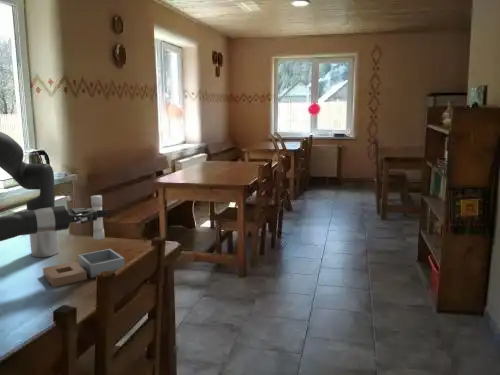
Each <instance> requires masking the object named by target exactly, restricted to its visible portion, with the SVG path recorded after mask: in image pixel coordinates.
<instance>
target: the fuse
mask: <svg viewBox="0 0 500 375" xmlns="http://www.w3.org/2000/svg"><path fill="white" fill-rule="evenodd" d="M90 204H91V205H90V206H91V208H92V211H94V210H96V211H97V210H102V208H103V196H102V194H97V195H95V194H94V195H91V196H90ZM103 219H104V217H99V218H97V220H94V221H92V222H93V224H92V226H93V230H92V232H93V236H92V237H93V240H97V241H99V240H104V239H105V236H106V235H105V228H104V220H103Z"/></svg>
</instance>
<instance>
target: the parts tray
mask: <svg viewBox="0 0 500 375" xmlns="http://www.w3.org/2000/svg"><path fill="white" fill-rule="evenodd" d="M77 257H78V258H77V260H78V264H79V265H80V266H81V267H82V268H83V269H84V270H85V271H86V272H87V276H89V277H90V278H96V277H97V276H96V275H98V274H99V273H101V272H103V271H116V270H117V269H119V268H120V267H122V266H124V265H125V264H126V263H125V261H126V260H125V257H123V256H122V255H121V254H119V253H118V252H116V251H114V250H113V249H112V248H106V249H102V250H101V249H100V250H96V251H92V252H87V253H83V254H82V253H81V254H78V255H77ZM125 266H126V265H125Z"/></svg>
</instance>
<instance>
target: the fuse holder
mask: <svg viewBox="0 0 500 375" xmlns="http://www.w3.org/2000/svg"><path fill="white" fill-rule="evenodd" d="M42 274H43V277H44V278H45V279H46V280H47V282H48V283H49V284H50V285H51V286H52V287H53V288H55V287H60V286H63V285H68V284H73V283H76V282H81V281H86V280H88V274H87V272H86V271H85V270H84V269H83V268H82V267H81V266H80V265H79V263H78V262H76V261H71V262H66V263H61V264H60V263H59V264H57V265H50V266H46V267H43V268H42Z"/></svg>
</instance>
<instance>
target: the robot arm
mask: <svg viewBox="0 0 500 375" xmlns="http://www.w3.org/2000/svg"><path fill="white" fill-rule="evenodd" d="M0 169H2V170H3V171H5V172H6V174H8V175H10V177H11V178H12V179H13V180H14V181H15V182H16V183H17V184H18V185H19V186H20V187H21V188H23V189H25V190H35V191H36V190H39V195H38V196H36V197H33V198H31V199H29V200H27V201H26V204H25V205H26V210H25V211H19V212H16V213H14V214H13V215H12V214H11V215H5V216H0V242H3V241H5V240H9V239H10V240H11V239H12V238H16V237H19V236H28V235H29V243H30V251H31V256H32V257H34V258H46V257H51V256H55V255H57V254H58V253H59V252H60V250H59V248H60V247H59V238H58V231H59V232H60V231H65V230H68V229H69V228H70V224H71V223H74V224H82V225H84V224H87V223H91V222H93V221H94V220H97V218H99V217H103V218H105V217H109V210H108V209H106V208H105V207H102V210H97V211H96V210H94V211H92V207H80V208H79V207H78V208H77V207H76V208H69V209H68V207H67V206H66V205H58V206H57V205H56V206H55V200H56V195H55V194H56V193H55V174H54V168H53V167H52V166H51V164H49V163H26V162H25V161H24V150H23V148H22V146H21V145H20V144H19V143H18V142H17V141H16V140H15V139H13V137H11V136H10V135H9V134H6V133H4V132H1V131H0Z"/></svg>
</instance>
